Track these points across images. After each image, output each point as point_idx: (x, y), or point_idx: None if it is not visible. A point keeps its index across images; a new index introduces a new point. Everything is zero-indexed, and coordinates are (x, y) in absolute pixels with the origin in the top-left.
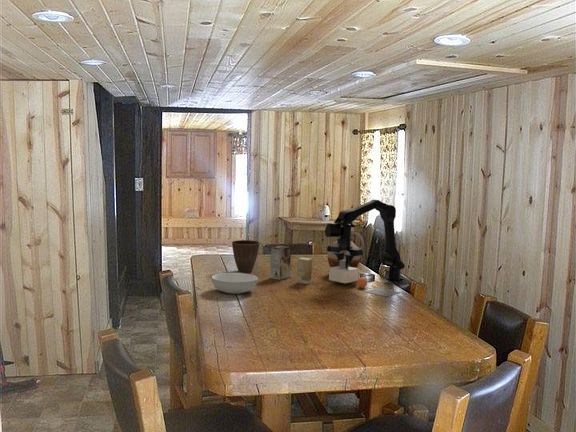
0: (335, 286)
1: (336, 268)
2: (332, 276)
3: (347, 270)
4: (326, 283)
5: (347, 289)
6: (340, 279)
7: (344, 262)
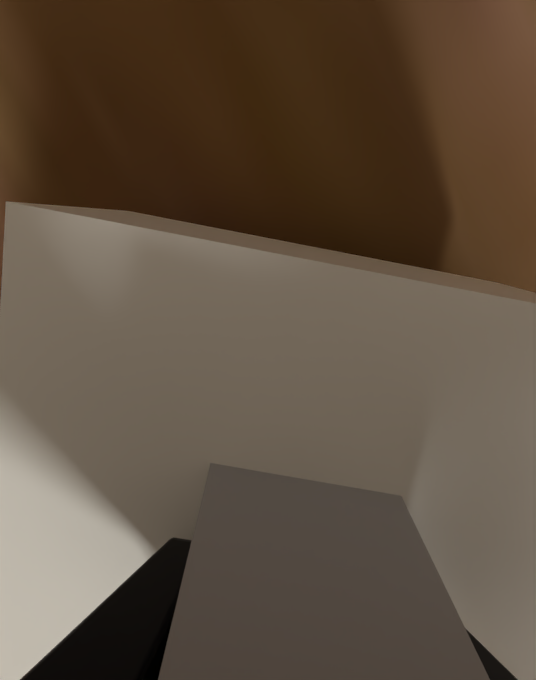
0: (280, 139)
1: (440, 375)
2: (447, 275)
3: (11, 322)
4: (497, 240)
5: (17, 72)
6: (232, 232)
7: (179, 631)
